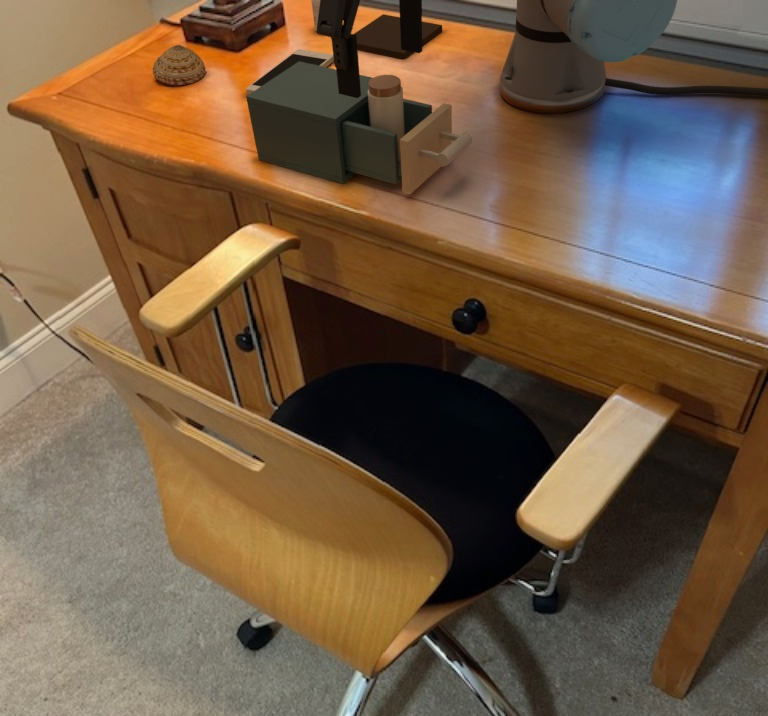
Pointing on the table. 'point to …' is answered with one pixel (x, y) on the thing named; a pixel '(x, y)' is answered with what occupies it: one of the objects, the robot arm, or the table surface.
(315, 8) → the pill bottle
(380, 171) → the drawer
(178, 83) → the seashell
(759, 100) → the table surface
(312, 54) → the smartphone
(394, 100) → the spice pot
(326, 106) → the cabinet
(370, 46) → the coaster
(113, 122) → the table surface
